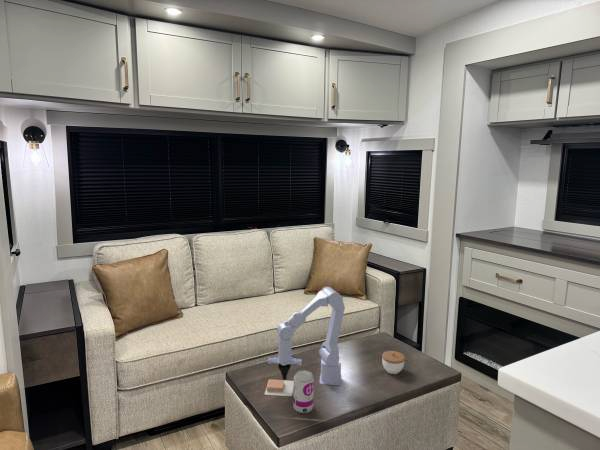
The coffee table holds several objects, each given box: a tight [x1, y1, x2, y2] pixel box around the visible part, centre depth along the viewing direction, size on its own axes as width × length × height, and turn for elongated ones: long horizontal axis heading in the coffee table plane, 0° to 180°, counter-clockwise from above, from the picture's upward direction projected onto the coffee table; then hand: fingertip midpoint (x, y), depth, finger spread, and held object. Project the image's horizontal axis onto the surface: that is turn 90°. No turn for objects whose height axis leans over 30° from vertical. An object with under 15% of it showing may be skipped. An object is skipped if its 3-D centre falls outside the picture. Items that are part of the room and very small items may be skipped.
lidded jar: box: [381, 350, 406, 375], centre depth 198 cm, size 11×11×9 cm
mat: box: [264, 379, 294, 397], centre depth 182 cm, size 12×12×1 cm
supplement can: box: [292, 369, 315, 414], centre depth 167 cm, size 8×8×15 cm
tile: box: [266, 379, 284, 391], centre depth 182 cm, size 2×6×7 cm
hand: (284, 378), depth 181 cm, fingers closed
